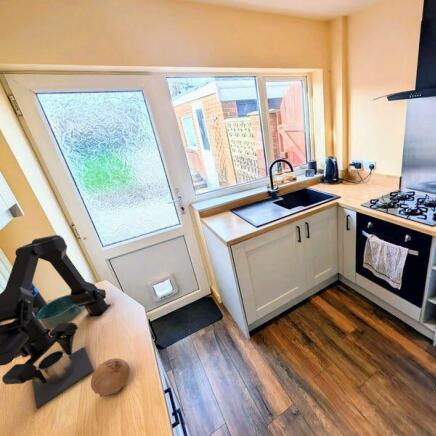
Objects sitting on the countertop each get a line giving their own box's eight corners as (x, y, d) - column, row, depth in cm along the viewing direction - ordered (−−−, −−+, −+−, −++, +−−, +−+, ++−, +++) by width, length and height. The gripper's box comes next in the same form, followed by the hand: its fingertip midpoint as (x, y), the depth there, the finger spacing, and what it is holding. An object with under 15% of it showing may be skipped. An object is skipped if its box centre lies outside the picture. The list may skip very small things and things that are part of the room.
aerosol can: (23, 324, 104) (-6, 287, 95) (31, 312, 110) (4, 276, 102) (47, 316, 107) (21, 279, 98) (53, 304, 114) (30, 269, 105)
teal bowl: (92, 302, 112) (87, 293, 110) (66, 328, 99) (59, 318, 97) (63, 304, 113) (57, 295, 110) (33, 330, 100) (26, 320, 98)
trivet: (33, 379, 80) (31, 378, 80) (84, 348, 89) (83, 346, 89) (37, 409, 71) (36, 407, 71) (94, 371, 80) (93, 369, 80)
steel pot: (79, 363, 83) (69, 349, 80) (62, 383, 77) (51, 369, 74) (61, 364, 83) (50, 350, 80) (43, 384, 77) (30, 370, 74)
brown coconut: (134, 383, 78) (139, 359, 76) (105, 410, 69) (110, 384, 67) (111, 368, 80) (116, 344, 77) (80, 392, 71) (84, 367, 69)
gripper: (35, 311, 81) (59, 343, 87) (-33, 365, 64) (3, 401, 70) (67, 308, 80) (89, 341, 87) (6, 363, 63) (39, 399, 70)
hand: (57, 368), depth 78 cm, fingers open, 9 cm apart
